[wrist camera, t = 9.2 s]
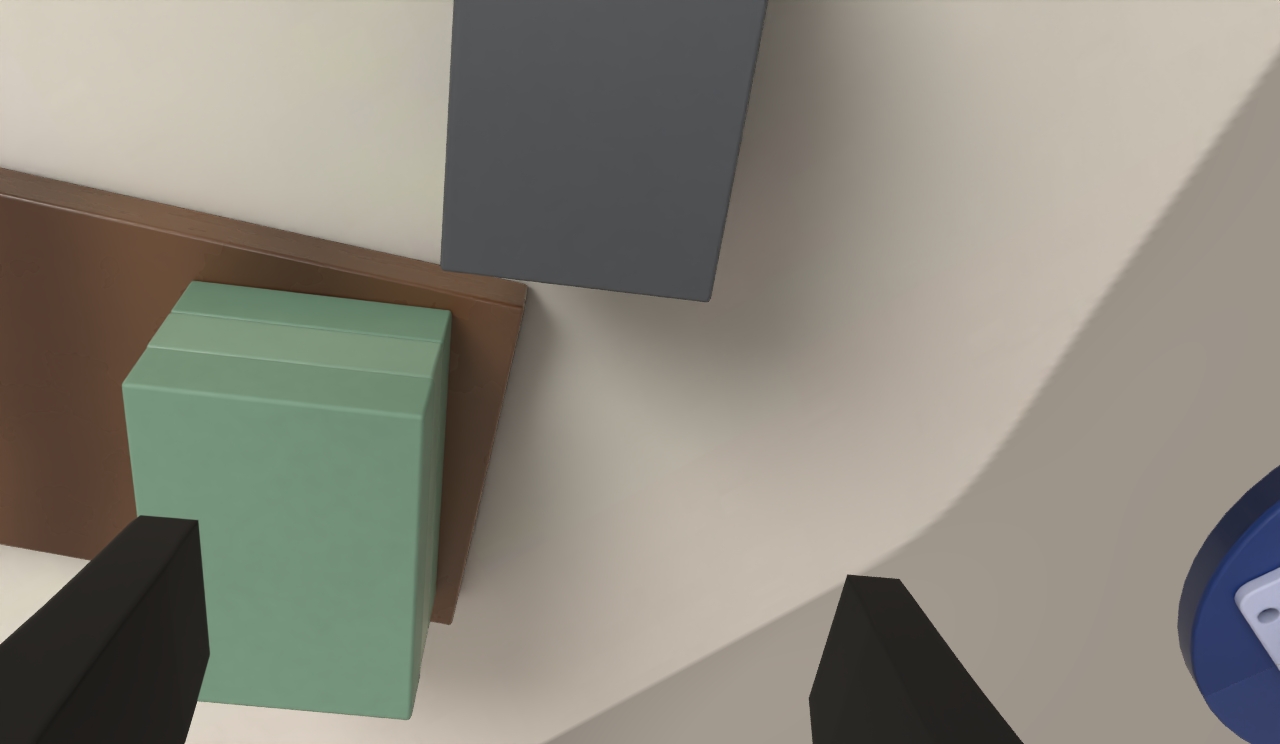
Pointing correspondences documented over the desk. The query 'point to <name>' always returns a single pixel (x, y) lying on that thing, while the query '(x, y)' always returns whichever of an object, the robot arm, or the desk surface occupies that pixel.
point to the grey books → (596, 140)
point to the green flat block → (325, 353)
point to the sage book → (294, 521)
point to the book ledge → (134, 311)
